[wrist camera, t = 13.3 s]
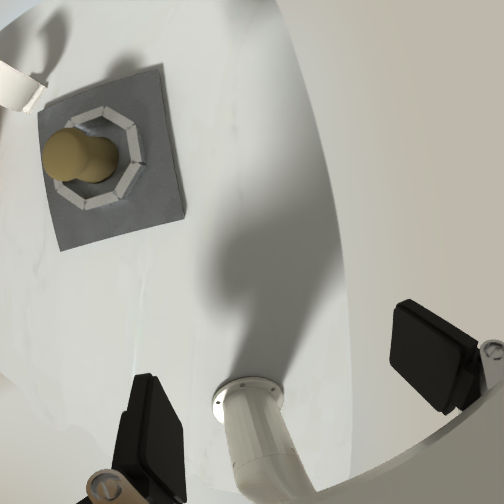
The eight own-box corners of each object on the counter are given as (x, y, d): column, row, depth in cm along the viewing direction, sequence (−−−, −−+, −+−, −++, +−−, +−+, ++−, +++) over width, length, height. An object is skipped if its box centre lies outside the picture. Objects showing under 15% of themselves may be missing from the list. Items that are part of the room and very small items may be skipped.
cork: (92, 193, 30) (52, 200, 20) (69, 158, 28) (24, 152, 18) (128, 162, 30) (98, 154, 20) (103, 127, 29) (67, 107, 18)
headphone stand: (30, 76, 25) (-11, 52, 13) (51, 90, 26) (8, 65, 15) (13, 102, 25) (-32, 86, 13) (33, 117, 27) (-14, 101, 15)
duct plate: (184, 217, 35) (183, 222, 31) (64, 249, 32) (50, 257, 28) (159, 73, 29) (155, 60, 25) (42, 114, 27) (27, 108, 23)
